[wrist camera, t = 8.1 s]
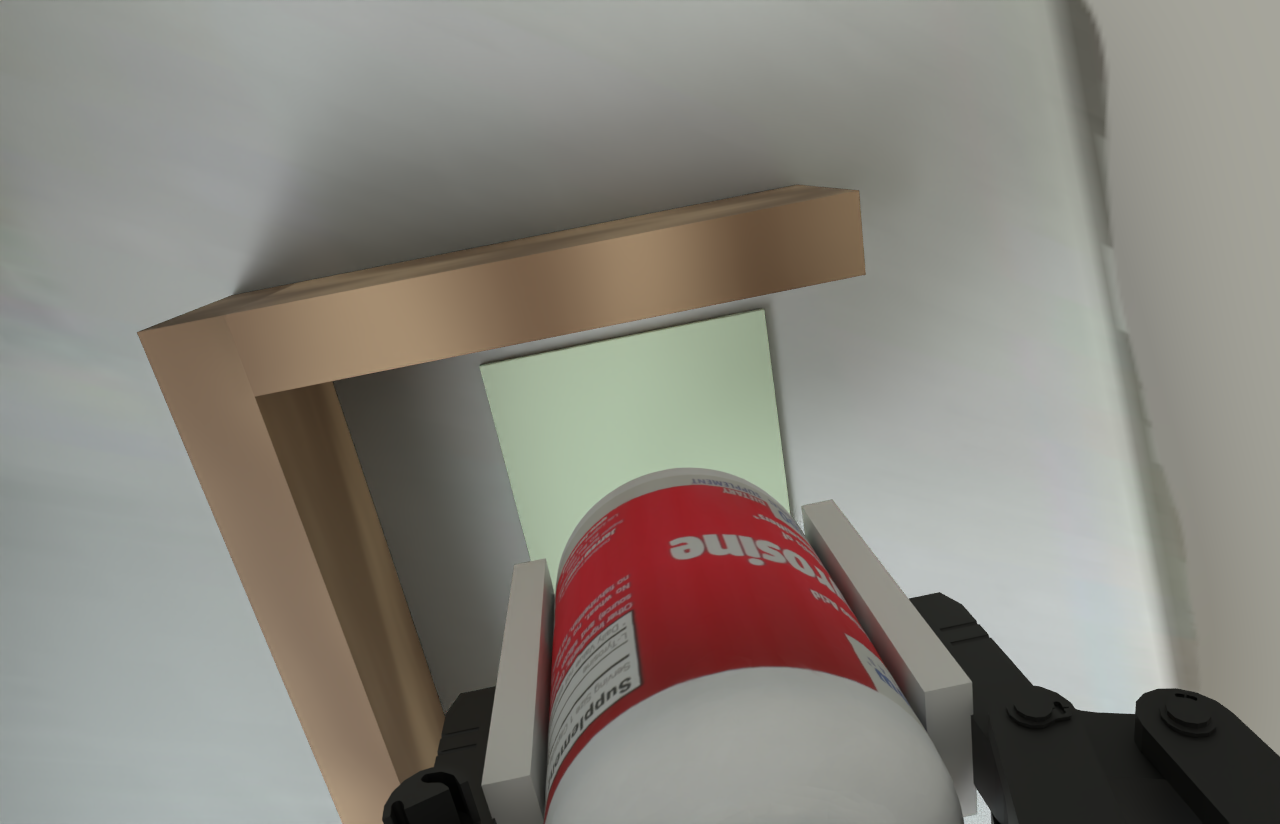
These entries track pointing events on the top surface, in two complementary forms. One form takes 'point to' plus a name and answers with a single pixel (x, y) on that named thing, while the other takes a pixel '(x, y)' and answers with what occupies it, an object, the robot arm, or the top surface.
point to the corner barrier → (402, 336)
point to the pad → (633, 419)
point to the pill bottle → (721, 673)
